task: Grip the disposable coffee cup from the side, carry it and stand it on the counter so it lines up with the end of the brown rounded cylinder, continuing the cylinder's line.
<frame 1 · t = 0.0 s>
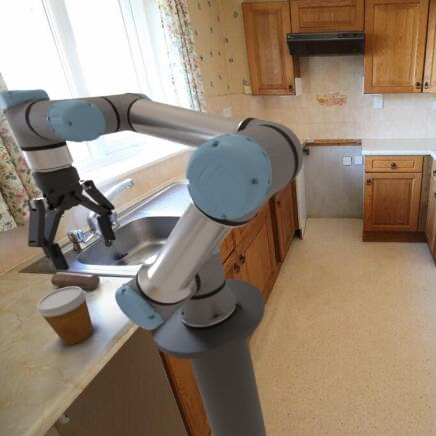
hand: (88, 253, 77), 21 cm above the counter, tool pointing down, fingers open, 13 cm apart
brown rounded cylinder: (78, 286, 101), on the counter
disposable coffee cup: (78, 335, 82), on the counter
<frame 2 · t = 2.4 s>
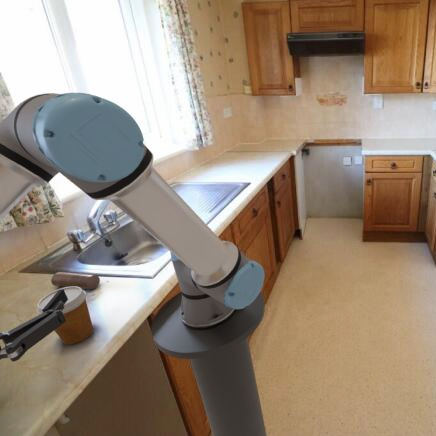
hand: (25, 300, 66), 18 cm above the counter, tool horizontal, fingers open, 13 cm apart
nothing on the counter moved.
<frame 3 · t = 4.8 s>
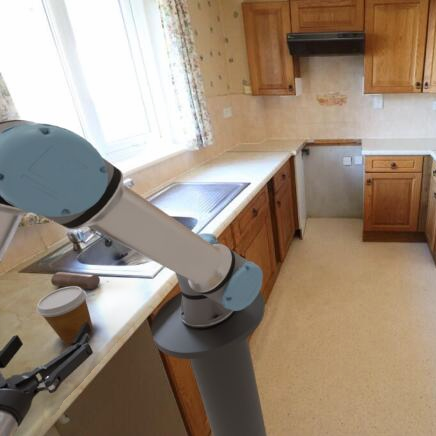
hand: (54, 333, 73), 7 cm above the counter, tool horizontal, fingers open, 13 cm apart
nothing on the counter moved.
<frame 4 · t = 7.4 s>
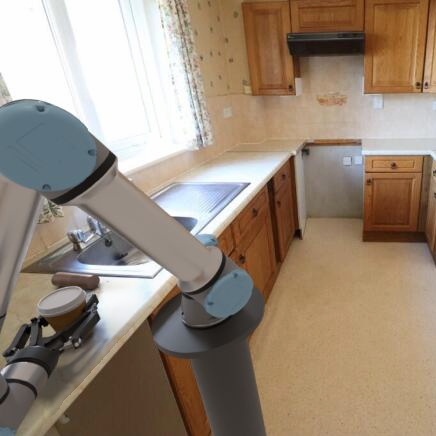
hand: (76, 301, 83), 7 cm above the counter, tool horizontal, fingers closed on disposable coffee cup, 8 cm apart
disposable coffee cup: (78, 335, 82), on the counter, touching gripper
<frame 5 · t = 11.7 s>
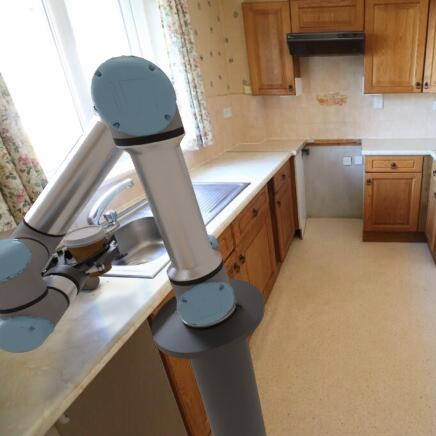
hand: (96, 240, 89), 18 cm above the counter, tool horizontal, fingers closed on disposable coffee cup, 8 cm apart
disposable coffee cup: (99, 271, 88), point 11 cm above the counter, touching gripper
when the fingers open (7 cm above the counter, at t = 15.9 s): disposable coffee cup stays where it is, on the counter.
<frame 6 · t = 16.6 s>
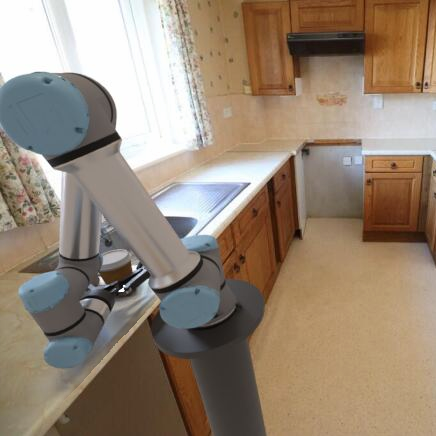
hand: (120, 264, 98), 7 cm above the counter, tool horizontal, fingers open, 13 cm apart
disposable coffee cup: (124, 290, 98), on the counter
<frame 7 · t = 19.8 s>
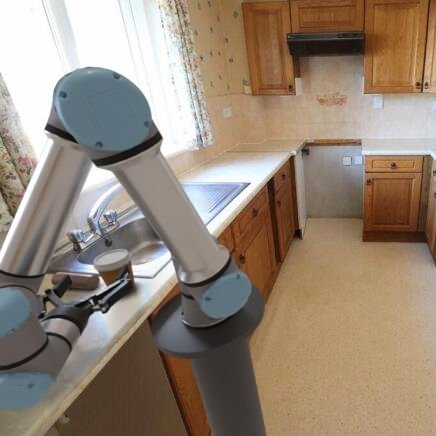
hand: (98, 273, 84), 12 cm above the counter, tool horizontal, fingers open, 13 cm apart
nothing on the counter moved.
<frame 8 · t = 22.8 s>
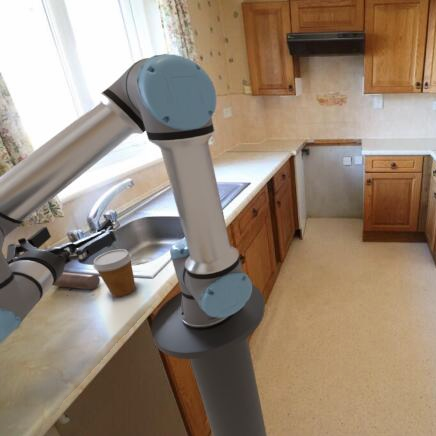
hand: (79, 227, 78), 26 cm above the counter, tool horizontal, fingers open, 13 cm apart
nothing on the counter moved.
at the end: disposable coffee cup 0.1 cm from the target spot on the counter beside the brown rounded cylinder, on the counter; disposable coffee cup tilted 0°; the gripper is holding nothing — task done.
